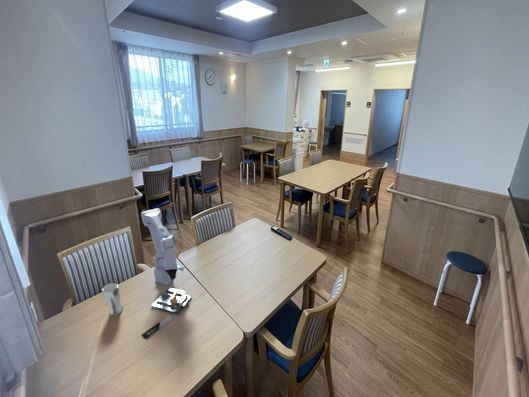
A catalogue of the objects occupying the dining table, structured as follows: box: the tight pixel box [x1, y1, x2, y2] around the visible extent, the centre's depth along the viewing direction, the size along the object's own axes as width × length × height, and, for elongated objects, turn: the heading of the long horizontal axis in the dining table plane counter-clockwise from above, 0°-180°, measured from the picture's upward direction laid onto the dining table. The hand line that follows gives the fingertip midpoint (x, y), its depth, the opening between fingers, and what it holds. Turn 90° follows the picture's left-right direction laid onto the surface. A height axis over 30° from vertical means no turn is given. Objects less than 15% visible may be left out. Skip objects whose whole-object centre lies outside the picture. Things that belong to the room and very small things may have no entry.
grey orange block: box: [170, 293, 189, 308], centre depth 131 cm, size 8×4×4 cm, turn 73°
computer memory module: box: [141, 314, 174, 340], centre depth 119 cm, size 15×1×4 cm
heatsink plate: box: [151, 287, 192, 316], centre depth 133 cm, size 16×12×4 cm
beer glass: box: [101, 282, 124, 316], centre depth 125 cm, size 7×7×15 cm
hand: (173, 278), depth 136 cm, fingers closed
